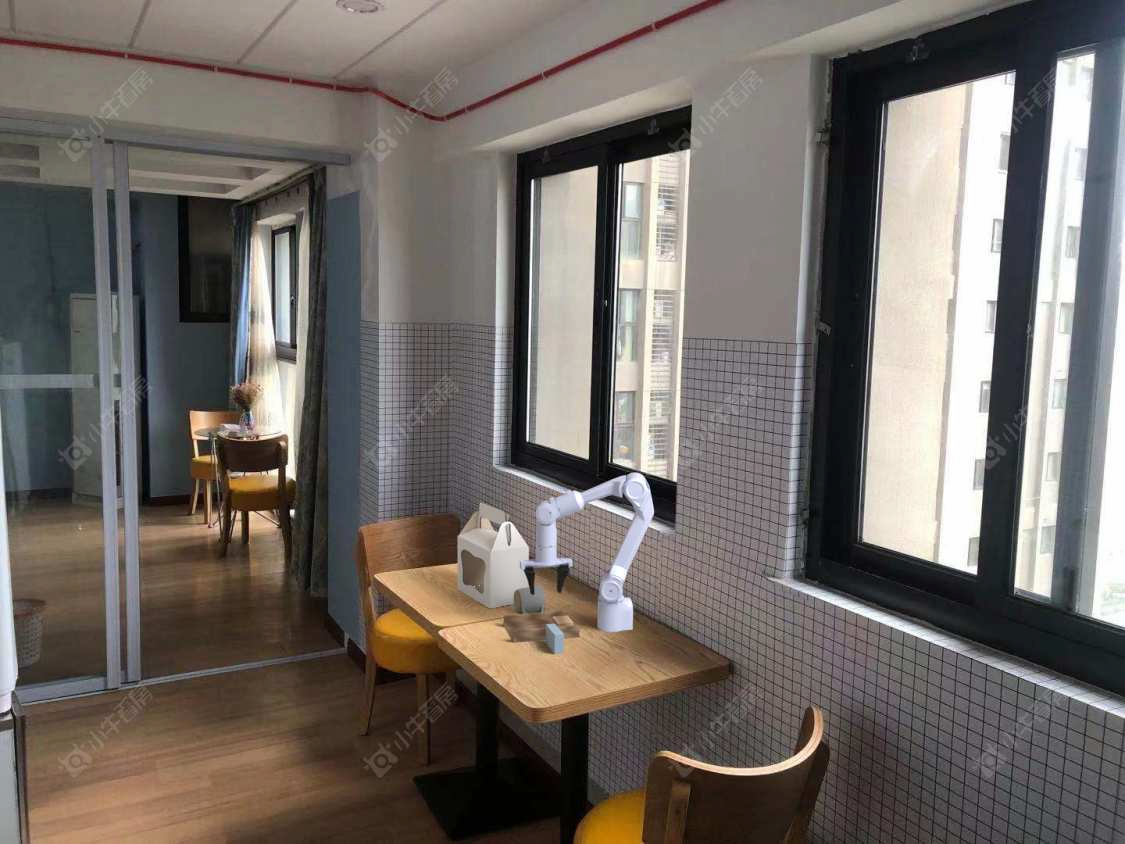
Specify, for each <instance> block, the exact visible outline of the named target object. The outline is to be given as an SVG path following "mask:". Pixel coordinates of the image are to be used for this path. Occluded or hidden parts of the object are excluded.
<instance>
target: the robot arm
mask: <svg viewBox="0 0 1125 844" xmlns="http://www.w3.org/2000/svg"><path fill="white" fill-rule="evenodd" d="M623 495H624V496H625V498H626V499H627V500H628V501H629V502H630V503H631V504H632V507H633V509H634V511H635V512H634V515H633V517H632V520H631V522H630V523H629V525H628V528H627V531H626V533H625V535H624V537H623V539H622V541H621V543H620V545H619V547H618V550H617V551H616V554H615V556H614V558H613V561H612V562H611V564H610V566H609V567H608V568H607V570H606V571H605V572H604V573H602V575H601V576H600V580H599V582H600V585H599V589H598V592H599V594H598V596H597V621H596V622H597V626H596V627H597V629H598V630H599V631H602V632H606V633H607V632H608V633H616V632H620V631H631V630H633V629H634V627H633V626H634V605H633V601H632V599H631V598H630V597H625V596H624V595H623V592H624V590H623V585H624V582H625V581H626V577H627V575H628V570H629V569H630V566H631V564H632V563H633V560H634V559H635V556H636V554H637V551H638V549H639V548H640V545H641V543H642V541H643V538H644V536H645V534H646V532H647V530H648V527H649V526H650V524H651V521H652V519H653V517H654V514H655V510H654V503H653V502H654V501H653V498H652V493H651V488H650V485H649V483H648V481H647V479H646V478H645V476H644V475H643V474H642V473H639V472H631V473H629V474H627V475H626V474H625V475H620V476H618V477H615V478H613V479H610V480H608V481H605V482H603V483H600V484H598V485H596V486H594V487H592V488H589V489H587V490H583V491H582V492H580V491H577V490H572V491H571V489H568V490H566V491H565V493H564V494H562V495H559V496H557V497H554V496H552V497H549V498H548V499H549V500H547V499H546V500H543V501H541V502H540V503H539V504H538V505H537V508H536V510H535V518H536V529H535V531H536V532H535V558H532V559H529V560H525V561H520V569H521V570H523V571H524V573H525V575H526V577H527V580H528V587H529V588H530V593H531V595H534V592H535V590H534V586H535V578H536V572H535V569H539V568H540V569H541V568H544V569H545V568H556V578H557V579H556V580H557V581H556V591H557V593H559V594H562V590H563V587H564V583H565V581H566V578H567V576H568V575H569V573H570V568H571V567H573V559H572V558H571V557H558V556H557V553H558V552H557V551H558V549H557V548H558V547H557V546H558V544H557V543H558V542H557V541H558V540H557V539H558V528H557V519H562V518H565V517H568V516H570V515H573V514H576V513H578V512H580V511H582V510H583V509H584V506H585V505H586V504H589V503H592V502H594V501H598V500H601V499H603V498H607V497H609V496H615V497H619V498H623Z"/></svg>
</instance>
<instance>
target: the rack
mask: <svg viewBox="0 0 1125 844" xmlns="http://www.w3.org/2000/svg"><path fill="white" fill-rule="evenodd" d="M554 616H568V617H569V615H568V610H561V611H560V610H559V611H547V612H545V611H543V613H541V612H529V613H527V614H523V613H518V614H507V615H506V614H504V615H503V628H504V629H505V631H506V633H507V634H508V636H509V638H510V639H511V641H512V643H514V644H515V643H516V644H517V643H526V642H528V643H529V642H538V641H539V642H541V641H546V624H550V621H552V617H554ZM580 627H581V626H580V625H579V624H575V625H573V626H560V627H558V628H559V629H560V630H561V631H562V632H563V634H564V640H565V639H575V638H580V630H581V629H580Z"/></svg>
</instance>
